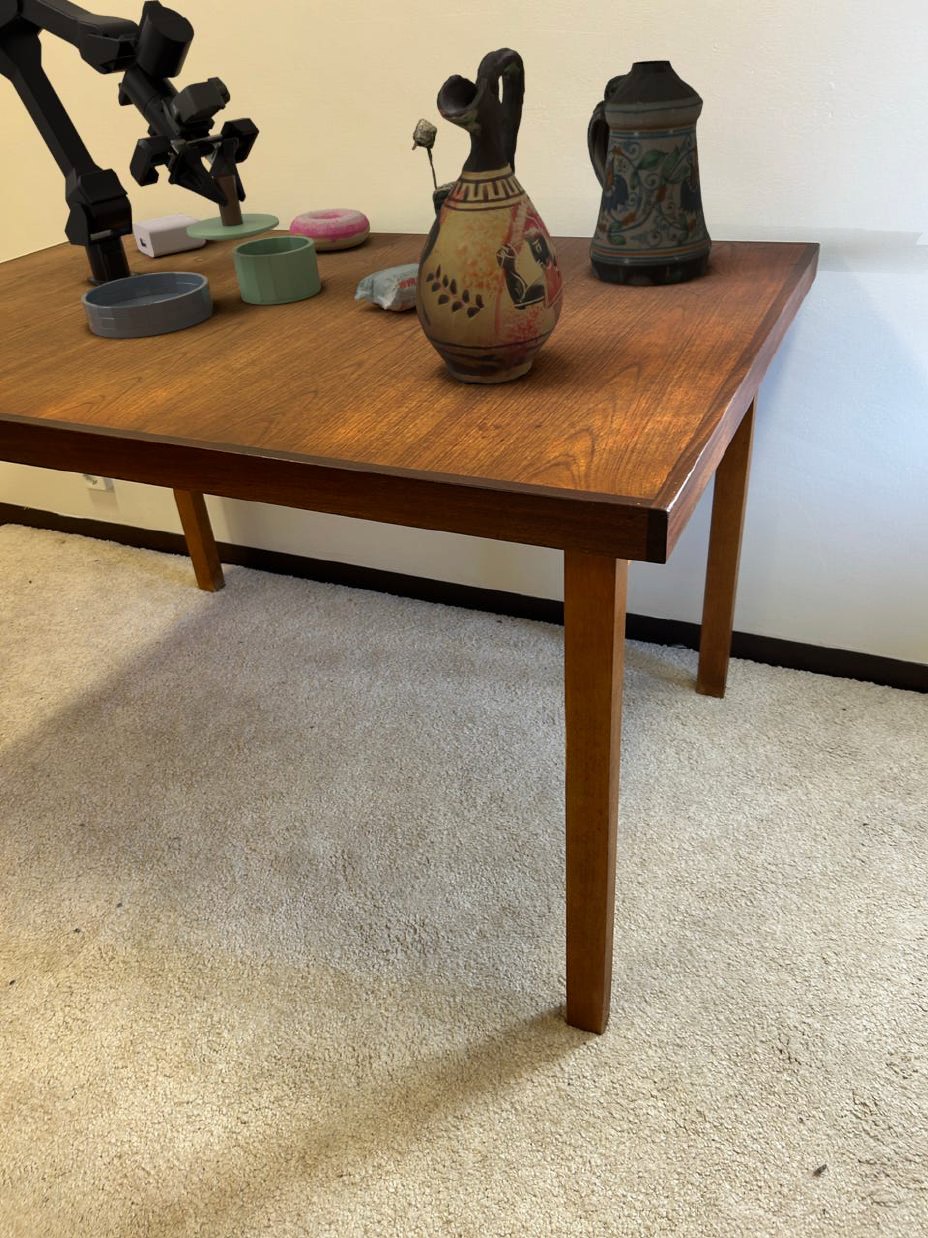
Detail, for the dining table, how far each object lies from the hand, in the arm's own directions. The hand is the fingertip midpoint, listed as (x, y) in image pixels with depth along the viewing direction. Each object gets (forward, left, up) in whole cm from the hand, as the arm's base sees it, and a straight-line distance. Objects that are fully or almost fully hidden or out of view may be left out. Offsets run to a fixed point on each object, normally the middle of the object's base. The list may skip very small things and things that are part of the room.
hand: (235, 201), depth 125 cm
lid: (-1, 0, -3) cm, 4 cm away
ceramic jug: (+47, +6, -13) cm, 49 cm away
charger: (-43, +9, -13) cm, 46 cm away
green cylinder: (-1, +5, -13) cm, 14 cm away
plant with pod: (+9, +29, -13) cm, 33 cm away
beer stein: (+32, +44, -13) cm, 56 cm away
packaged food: (+20, +13, -13) cm, 27 cm away
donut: (-20, +25, -13) cm, 35 cm away
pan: (-5, -13, -13) cm, 19 cm away
